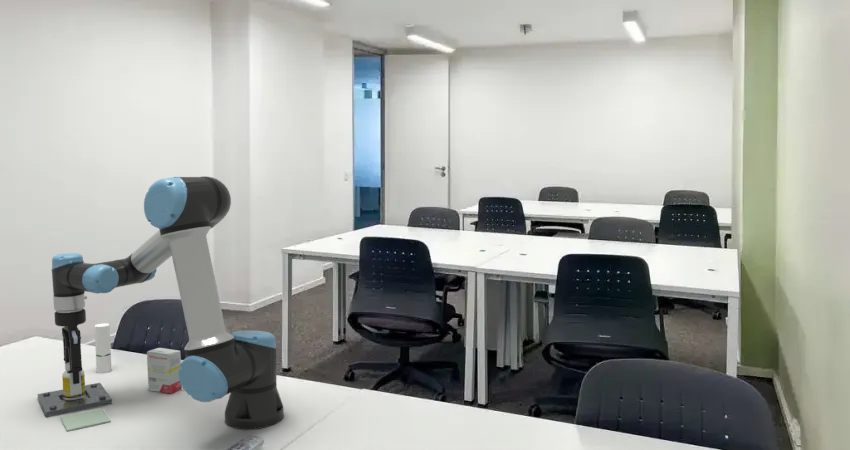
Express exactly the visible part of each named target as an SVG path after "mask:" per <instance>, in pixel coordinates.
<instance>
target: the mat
mask: <svg viewBox="0 0 850 450" xmlns="http://www.w3.org/2000/svg"><path fill="white" fill-rule="evenodd" d="M60 419H61V423H62V424H63V426H64V428H65V431H66V432H72V431H76V430H81V429H86V428H89V427H95V426H99V425H103V424H108V423H111V422H112V420H111V419H110V417H109V416H108V414H107V413H106V411H105V410H104V409H103V408H98V409H93V410H88V411H83V412H78V413H73V414H69V415H68V414H67V415H64V416H60Z"/></svg>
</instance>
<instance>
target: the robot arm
mask: <svg viewBox="0 0 850 450" xmlns="http://www.w3.org/2000/svg"><path fill="white" fill-rule="evenodd" d="M143 200H144V201H143V211H144V215H145V219H147V222H149V223H150V225H151V226H153V227H154V228H156V229H159V230H158V231H156V232H155V233H154V234H153V235H152V236H151V237H149V238H148V239H147V240H146V241H144V243H142V244H141V245H140V246H139V247H138V248H137V249H135V251H133V252H131V254H130V255H129V256H127V257H125V258H121V259H115V260H111V261H109V260H108V261H103V262H97V263H90V262H89V263H88V262H84V258H83V255H82V254H80V253H78V252H77V253H75V252H70V253H67V252H66V253H60V254H56V255H54V256H53V257H52V259H51V278H52V289H53V290H52V291H53V295H52V296H53V297H52V299H53V300H52V301H53V310H54V311H55V312H54V313H53V314H54V324H55V325H56V326H57V327H62V328H61V336H62V340H63V341H62V344H63V345H62V346H63V361H64V365H65V364H66V363H68V362H69V363H70V371H67V373H69V377H70V395H71V396H72V395H77V394H82V386H81V371H82V370H83V364H82V362H83V361H82V349H81V348H82V346H81V342H82V341H81V340H82V336H81V330H80V329H79V328H78V326H79V325H82V324H84V323H86V321H87V318H86V317H87V316H86V312H87V311H86V309H85V306H86V301H85V300H87V299H88V296H87V295H85V292H88V293H93V294H107V293H108V294H109V293H110V292H112V291H113V290H114V289H116V288H120V287H125V286H130V285H135V284H142V283H145V282H148V281H150V280H152V279H154V277H155V275H156V273H157V270H158V268H159V267H160V266H161V265H163V264H164V263H165V262H166V261H168V260H169V259H170V258H171V257H172V262H173V268H174V271H175V277H176V282H177V287H178V291H179V296H180V301H181V305H182V309H183V316H184V321H185V325H186V329H187V334H188V342H187V343H186V345H185V347H184V348H183V349H184V354H185V358H184V359H183V360H181V364H180V366H181V367H180V368H179V380H180V383H181V385H182V388H183V389H182V390H184V391H185V393H186V394H187V396H190V397H191V398H192V399H193V400H195V401H198V402H200V403H201V402H202V403H209V402H212V401H215V400H218V399H219V400H220V399H222V398H224V397H225V396H227V395H229V396H228V400H227V403H226V405H225V409H224V423H225V424H226V425H227V426H229V427H231V428H234V429H239V430H241V429H242V430H252V429H253V430H254V429H256V430H257V429H261V428H265V427H266V428H267V427H270V426H272V425H275V424H277V423H278V422H280V421H281V420H282V419H283V418H284V414H285V413H284V410H285V408H284V404H283V401H282V399H281V396H280V393H279V391H278V387H277V349H278V347H277V341H276V337H275V335H274V334H273V333H271V332H268V331H263V330H254V329H253V330H251V329H249V330H236V331H233V332H231V333H229V332H227V330H226V326H225V324H226V323H225V320H224V315H223V311H222V307H221V301H220V296H219V292H218V286H217V282H216V277H215V273H214V272H215V271H214V267H213V262H212V258H211V253H210V249H209V243H208V238H207V234H208V233H209V231H211V229H212V228H214V227H215V226H216V225H217V224H219V223H220V222H221V221H222V220H223V219H224V218H225V217H227V214H228V213H229V211H230V209H231V205H232V198H231V194H230V191H229V189H228V187H227V186H226V184H225V183H223V182H222V181H220V180H219V179H217V178H215V177H211V176H173V177H165V178H160V179H157V180H155V182H153V183H152V184H150V186H149V188H148V191H147V192H146V193H145V196H144V199H143Z"/></svg>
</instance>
